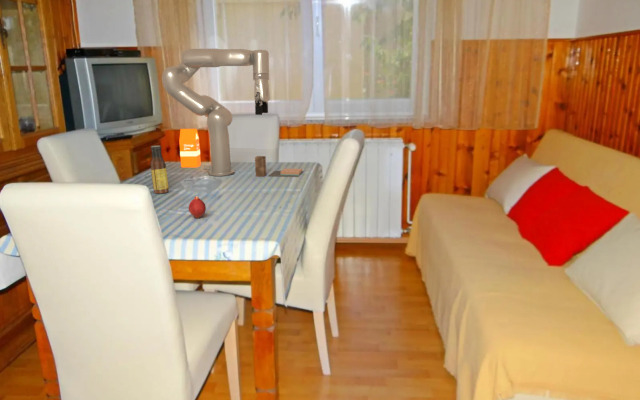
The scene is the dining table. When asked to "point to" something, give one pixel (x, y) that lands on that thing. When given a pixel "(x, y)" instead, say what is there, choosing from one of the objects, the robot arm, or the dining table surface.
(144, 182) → the dining table surface
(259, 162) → the block
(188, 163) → the orange juice
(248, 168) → the dining table surface
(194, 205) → the onion
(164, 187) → the sauce bottle
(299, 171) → the tile
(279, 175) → the mat
